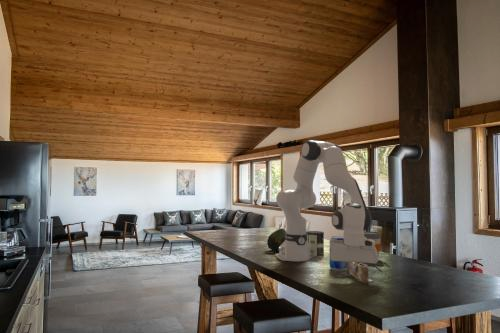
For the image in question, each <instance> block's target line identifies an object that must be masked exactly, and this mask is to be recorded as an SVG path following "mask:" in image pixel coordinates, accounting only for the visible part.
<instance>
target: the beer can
mask: <svg viewBox="0 0 500 333" xmlns="http://www.w3.org/2000/svg"><path fill="white" fill-rule="evenodd" d="M332 240H344V235H343V236H341V235H334V236H333V235H332V236H331V237H330V239H329V243H330V242H331V241H332ZM332 242H333V241H332ZM343 243H344V242H343ZM330 254H331V249H330V248H329V255H330ZM329 268H330V269H331V271H334V272H346V262H343V261H332V260H331V259H330V258H329Z"/></svg>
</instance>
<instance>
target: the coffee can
mask: <svg viewBox="0 0 500 333" xmlns="http://www.w3.org/2000/svg"><path fill="white" fill-rule="evenodd" d="M306 234H307V243H308V244H309V252H310V256H311V257H312V258H311V259H314V258H315V259H316V258H317V259H318V258H319V259H320V258H324V257H325V250H324V249H325V248H324V247H325V239H324V237H325V234H324V231H319V230H309V231H307V230H306Z"/></svg>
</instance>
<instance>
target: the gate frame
mask: <svg viewBox="0 0 500 333" xmlns="http://www.w3.org/2000/svg"><path fill="white" fill-rule="evenodd" d="M361 264H362V265H361V266H363V267H367V268H368V266H367V265H368V263H361ZM340 272H341V274H342V275H344V276H346V277H348V276H349V277H351V274H348V273H346V271H340ZM355 280H356V281H358V282H361V283H363V284H364V283H365V284H366V283H367V282H362V280H360V279H358V278H356V279H355ZM372 282H374V280H373V279H371V278H369V282H368V283H372Z"/></svg>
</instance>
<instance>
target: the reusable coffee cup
mask: <svg viewBox="0 0 500 333" xmlns="http://www.w3.org/2000/svg"><path fill="white" fill-rule="evenodd" d="M364 237H366V238H369V239H372V240H374V242H375V248H376V250H377V254H378V259H379V256H380V251H381V246H382V243H381V239H382V233H381V232H379V231H373V230H372V231H371V230H369V231H368V230H366V231H364Z"/></svg>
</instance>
